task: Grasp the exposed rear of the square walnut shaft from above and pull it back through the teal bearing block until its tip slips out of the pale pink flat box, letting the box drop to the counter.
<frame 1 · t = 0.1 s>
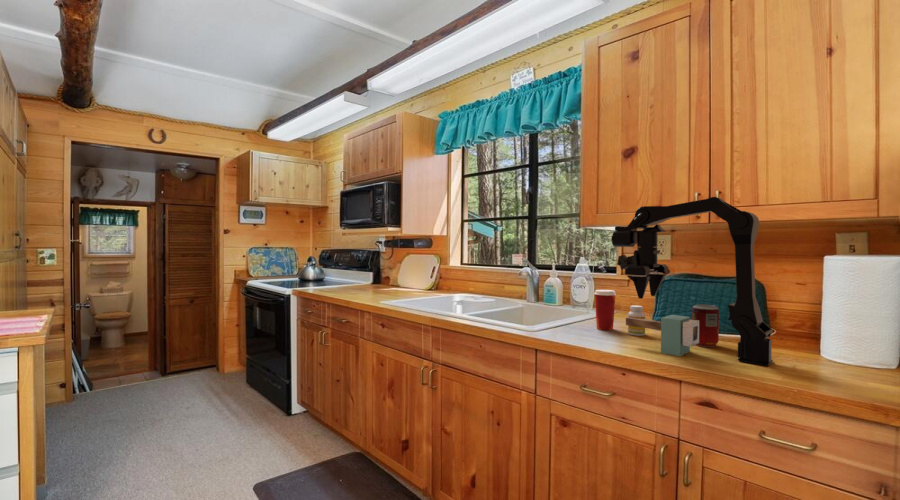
hand: (646, 297, 132), 14 cm above the countertop, tool pointing down, fingers open, 9 cm apart
shaft: (658, 325, 125), point 7 cm above the countertop, slide at 0.0 cm, touching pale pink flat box
supplement bottle: (636, 334, 145), on the countertop
bearing block: (675, 352, 121), on the countertop
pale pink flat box: (690, 344, 118), point 3 cm above the countertop, touching shaft
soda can: (704, 345, 130), on the countertop
paper cup: (604, 329, 155), on the countertop
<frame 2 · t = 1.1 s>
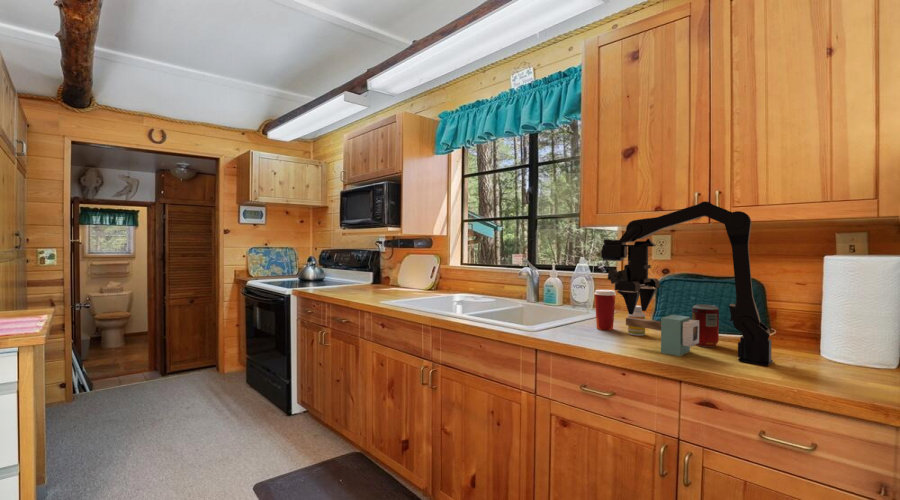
hand: (637, 312, 129), 10 cm above the countertop, tool pointing down, fingers open, 9 cm apart
nothing on the countertop moved.
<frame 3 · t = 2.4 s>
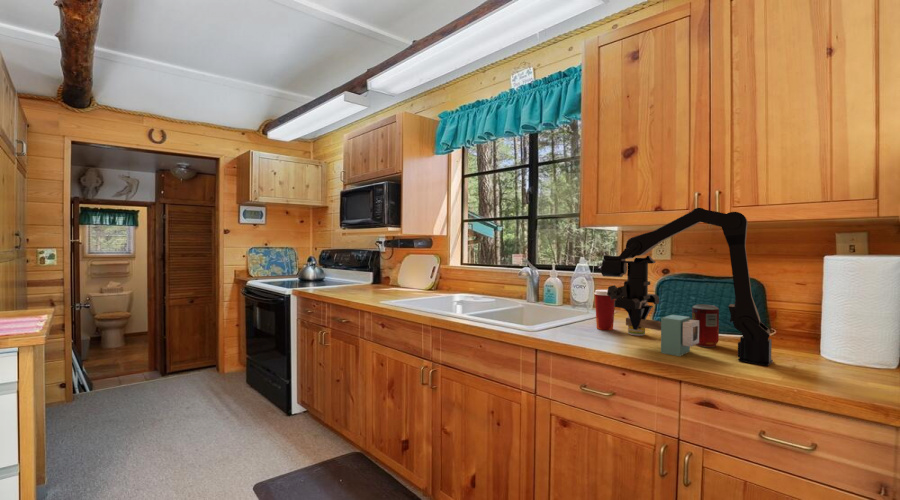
hand: (637, 329, 129), 5 cm above the countertop, tool pointing down, fingers closed on shaft, 2 cm apart
shaft: (658, 325, 125), point 7 cm above the countertop, slide at 0.0 cm, touching gripper, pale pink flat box
everything else where it was.
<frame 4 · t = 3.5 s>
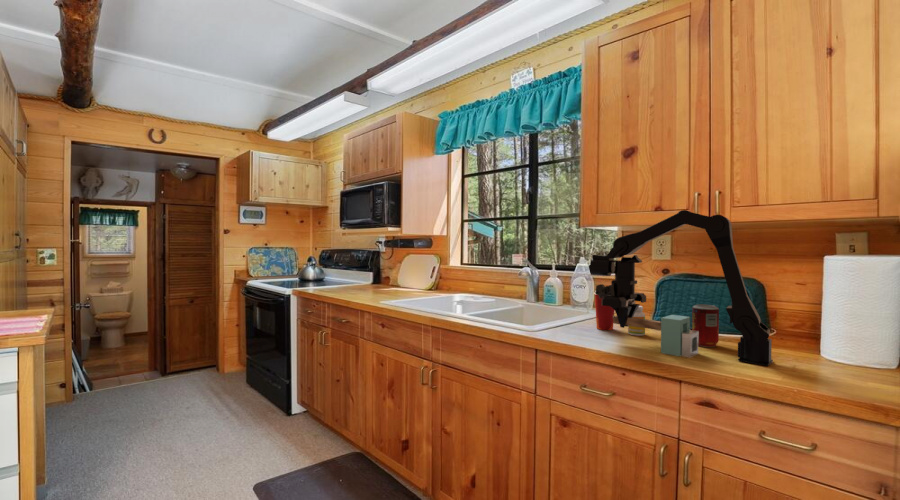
hand: (624, 326, 132), 5 cm above the countertop, tool pointing down, fingers closed on shaft, 2 cm apart
shaft: (645, 323, 128), point 7 cm above the countertop, slide at 4.0 cm, touching gripper
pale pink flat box: (690, 354, 119), on the countertop
everything else where it was.
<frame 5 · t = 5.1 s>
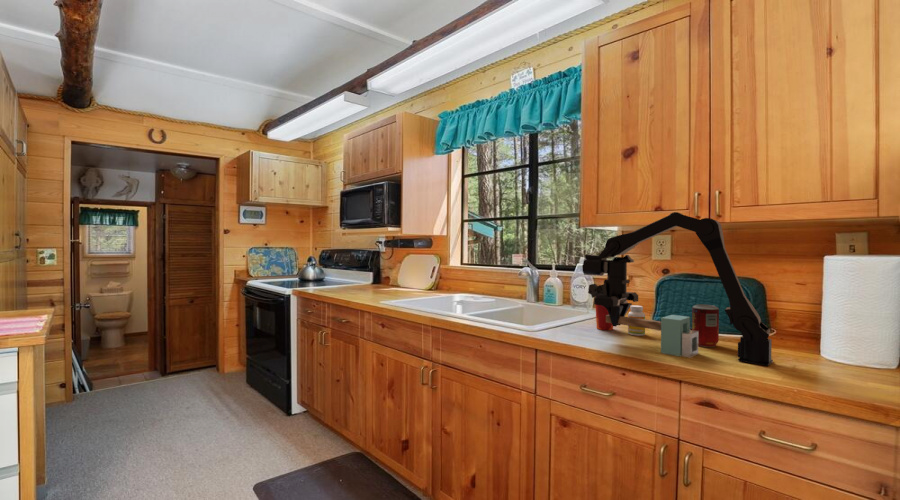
hand: (616, 325, 134), 5 cm above the countertop, tool pointing down, fingers closed on shaft, 2 cm apart
shaft: (636, 322, 129), point 7 cm above the countertop, slide at 6.5 cm, touching gripper
everything else where it was.
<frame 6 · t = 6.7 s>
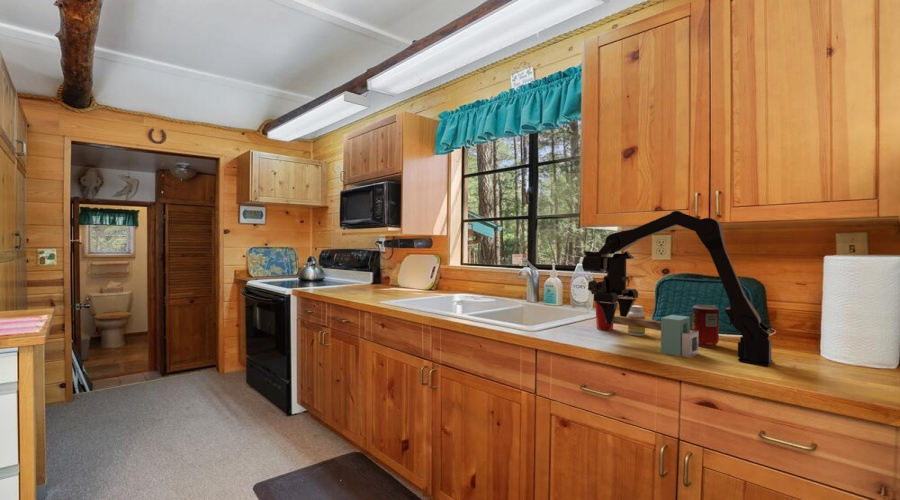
hand: (616, 322, 134), 6 cm above the countertop, tool pointing down, fingers open, 9 cm apart
shaft: (636, 322, 129), point 7 cm above the countertop, slide at 6.5 cm
everything else where it was.
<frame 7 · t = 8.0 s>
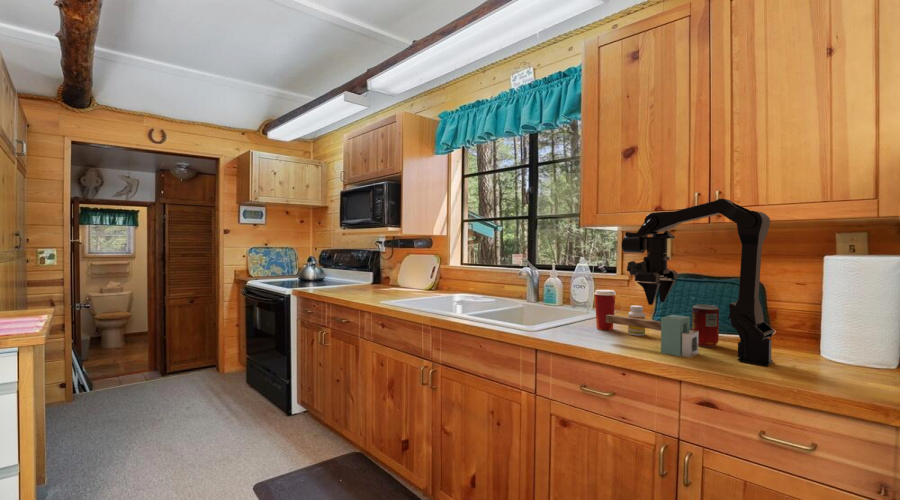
hand: (656, 303, 132), 12 cm above the countertop, tool pointing down, fingers open, 9 cm apart
nothing on the countertop moved.
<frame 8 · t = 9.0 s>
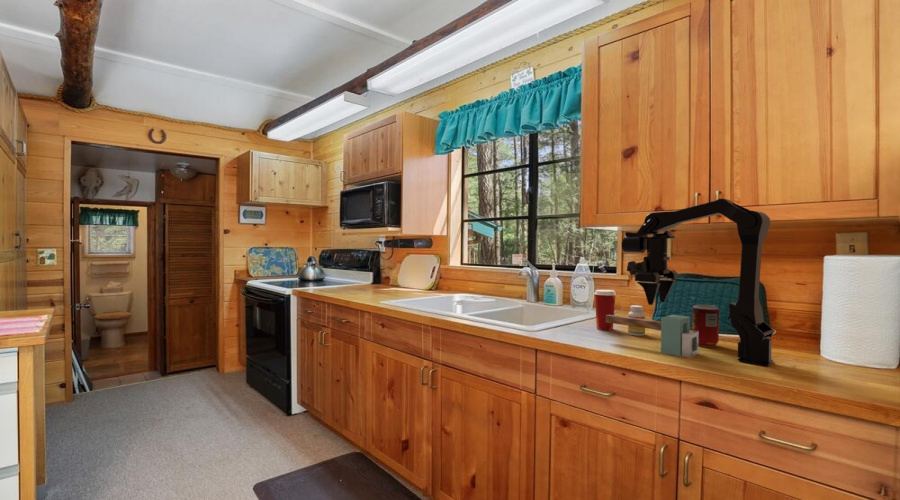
hand: (656, 303, 132), 13 cm above the countertop, tool pointing down, fingers open, 9 cm apart
nothing on the countertop moved.
at the end: shaft slide at 6.5 cm; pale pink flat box on the countertop; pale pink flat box 3.8 cm from the bearing block (horizontally) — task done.
